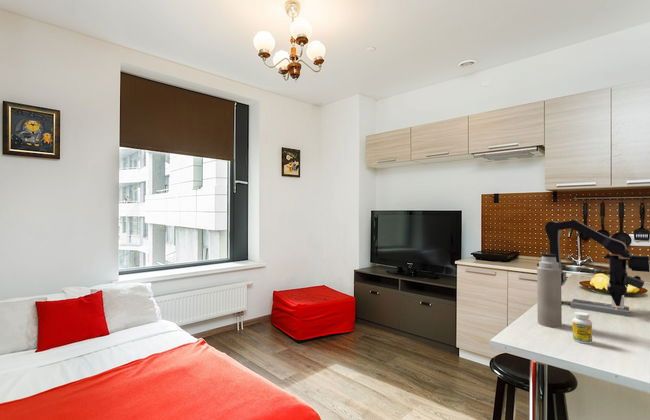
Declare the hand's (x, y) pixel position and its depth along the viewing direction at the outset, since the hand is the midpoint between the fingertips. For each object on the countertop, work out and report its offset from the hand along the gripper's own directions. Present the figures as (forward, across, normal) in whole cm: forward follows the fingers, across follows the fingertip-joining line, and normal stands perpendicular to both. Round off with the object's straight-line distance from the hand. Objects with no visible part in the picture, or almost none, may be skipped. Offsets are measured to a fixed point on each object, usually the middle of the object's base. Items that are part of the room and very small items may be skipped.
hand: (618, 304), depth 148 cm
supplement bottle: (+4, -51, +7) cm, 51 cm away
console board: (+3, 0, +6) cm, 7 cm away
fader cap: (+1, 0, 0) cm, 1 cm away
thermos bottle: (+4, -38, +19) cm, 43 cm away
